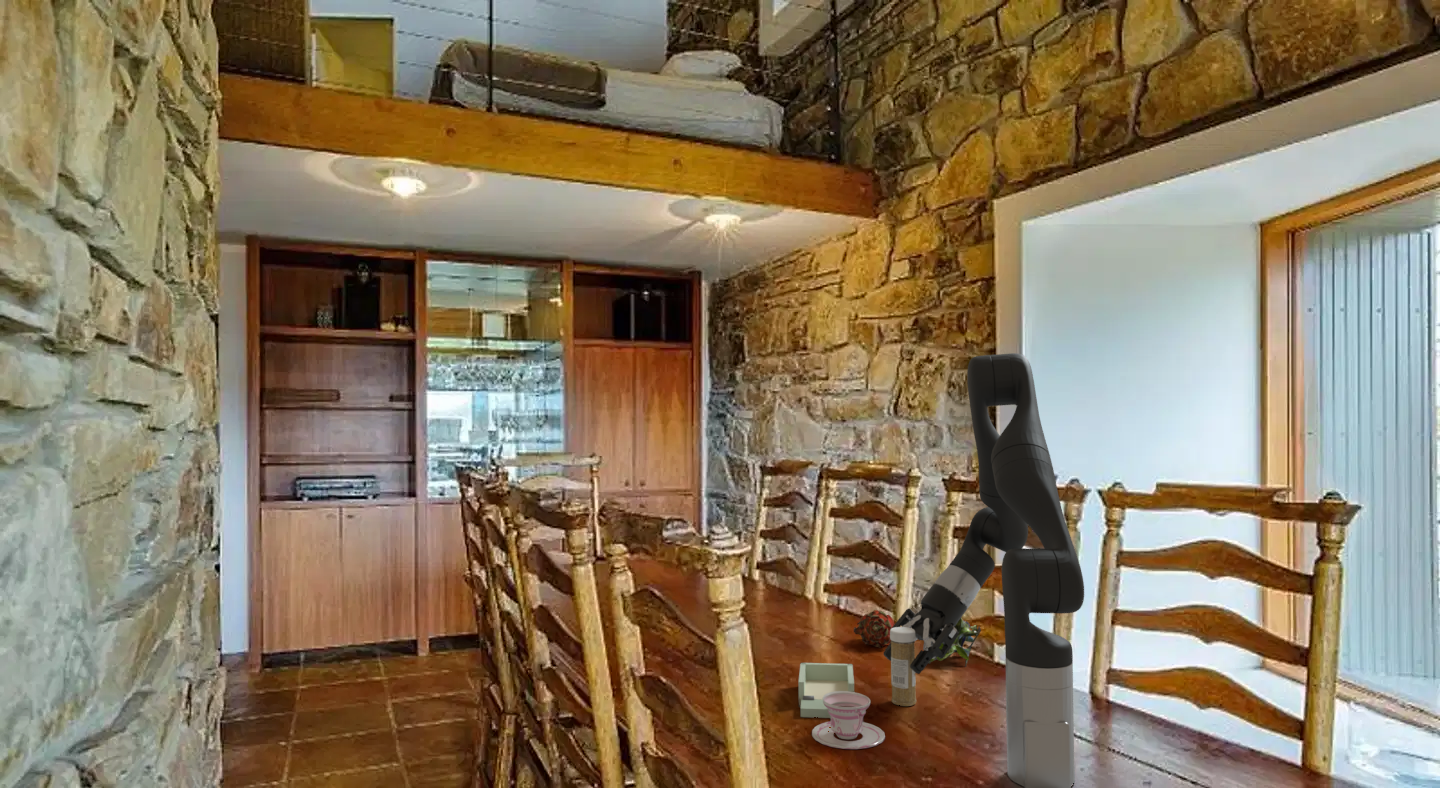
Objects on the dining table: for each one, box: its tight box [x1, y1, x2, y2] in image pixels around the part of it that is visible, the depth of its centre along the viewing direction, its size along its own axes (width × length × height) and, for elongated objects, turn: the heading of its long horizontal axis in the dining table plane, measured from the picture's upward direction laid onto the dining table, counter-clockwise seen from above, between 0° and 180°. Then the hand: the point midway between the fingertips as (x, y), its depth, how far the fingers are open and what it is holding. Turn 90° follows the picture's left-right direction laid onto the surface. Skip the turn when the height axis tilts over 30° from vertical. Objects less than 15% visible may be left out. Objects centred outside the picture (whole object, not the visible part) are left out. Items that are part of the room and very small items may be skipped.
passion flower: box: [928, 617, 982, 667], centre depth 185 cm, size 11×11×12 cm
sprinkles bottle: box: [890, 626, 917, 707], centre depth 160 cm, size 5×5×13 cm
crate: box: [798, 662, 855, 719], centre depth 161 cm, size 17×10×4 cm, turn 173°
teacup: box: [811, 691, 886, 750], centre depth 145 cm, size 12×12×6 cm
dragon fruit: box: [853, 609, 895, 649], centre depth 199 cm, size 8×8×12 cm
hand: (900, 664), depth 160 cm, fingers open, 8 cm apart
